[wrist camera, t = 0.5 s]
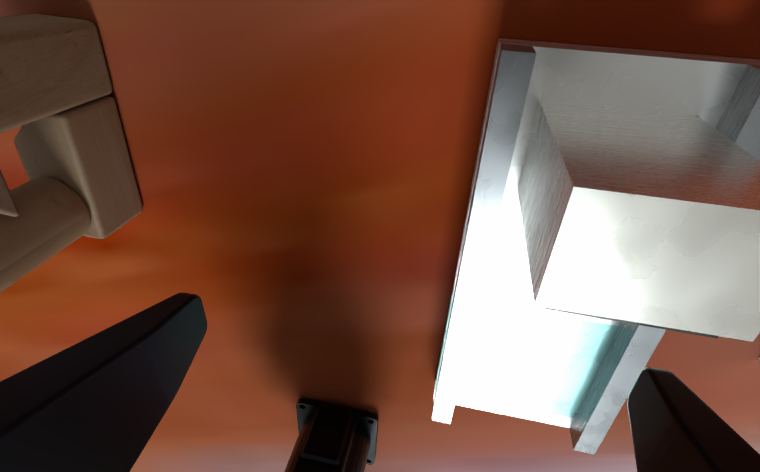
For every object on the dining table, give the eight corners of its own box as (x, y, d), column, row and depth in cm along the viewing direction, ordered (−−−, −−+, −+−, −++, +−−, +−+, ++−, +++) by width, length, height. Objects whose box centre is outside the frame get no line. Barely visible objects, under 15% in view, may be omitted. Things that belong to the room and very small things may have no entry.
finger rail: (585, 411, 28) (624, 582, 21) (435, 381, 30) (417, 531, 22) (764, 59, 16) (1020, 150, 9) (498, 37, 18) (509, 98, 10)
